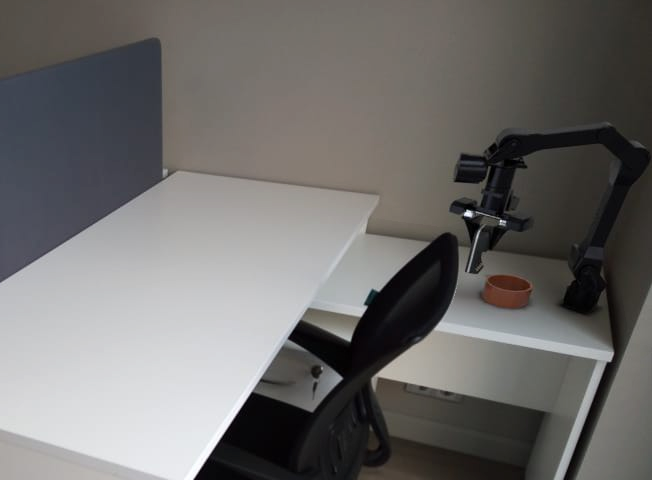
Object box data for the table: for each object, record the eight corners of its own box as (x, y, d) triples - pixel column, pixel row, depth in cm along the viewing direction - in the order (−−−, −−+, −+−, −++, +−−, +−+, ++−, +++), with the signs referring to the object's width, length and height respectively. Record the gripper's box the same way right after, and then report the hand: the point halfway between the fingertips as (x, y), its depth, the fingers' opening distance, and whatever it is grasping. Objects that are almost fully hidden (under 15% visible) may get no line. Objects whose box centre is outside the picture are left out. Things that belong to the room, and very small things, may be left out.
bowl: (535, 300, 184) (540, 283, 182) (513, 312, 179) (518, 295, 177) (495, 286, 192) (500, 270, 189) (473, 297, 186) (477, 281, 184)
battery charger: (479, 277, 180) (491, 233, 174) (463, 273, 182) (475, 229, 176) (487, 267, 185) (499, 224, 178) (471, 264, 187) (483, 221, 180)
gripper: (555, 188, 169) (535, 251, 178) (480, 170, 182) (465, 229, 190) (530, 197, 164) (511, 262, 172) (455, 178, 176) (441, 239, 185)
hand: (481, 247), depth 180 cm, fingers closed on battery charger, 4 cm apart
